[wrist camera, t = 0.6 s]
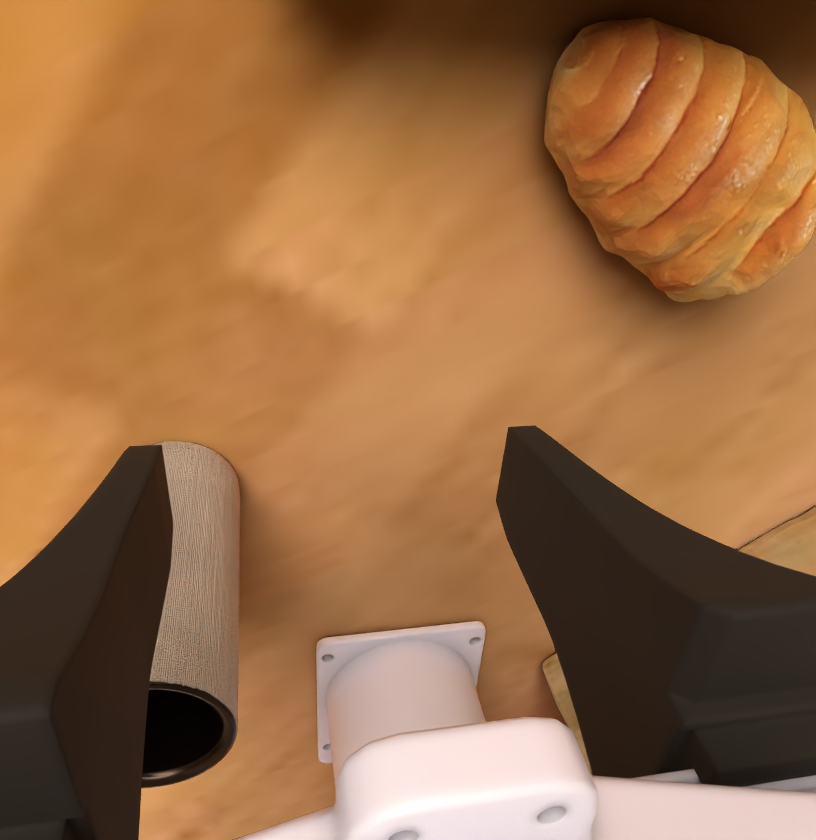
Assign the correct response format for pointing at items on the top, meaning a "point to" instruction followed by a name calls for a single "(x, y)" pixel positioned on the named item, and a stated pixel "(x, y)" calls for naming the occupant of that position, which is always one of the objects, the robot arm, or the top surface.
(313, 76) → the top surface
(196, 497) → the planter
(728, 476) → the top surface
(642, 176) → the pastry
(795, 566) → the caddy
